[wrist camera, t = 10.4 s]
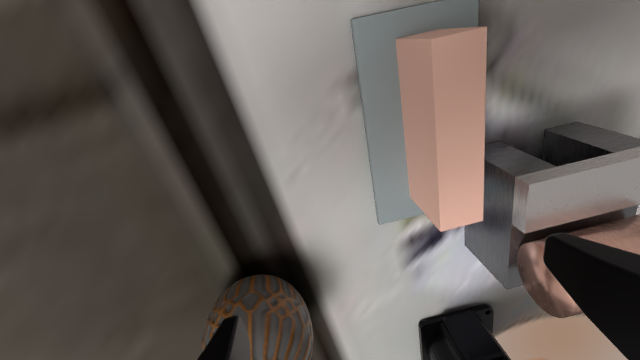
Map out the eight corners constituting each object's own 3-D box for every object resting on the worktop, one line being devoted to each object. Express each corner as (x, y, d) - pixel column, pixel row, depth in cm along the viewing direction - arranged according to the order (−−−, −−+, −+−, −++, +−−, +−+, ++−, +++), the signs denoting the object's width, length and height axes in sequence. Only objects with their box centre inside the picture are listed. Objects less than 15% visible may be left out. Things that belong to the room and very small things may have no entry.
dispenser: (562, 220, 25) (698, 305, 17) (464, 244, 25) (558, 343, 17) (577, 121, 22) (756, 170, 14) (465, 148, 21) (582, 214, 13)
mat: (471, 198, 23) (474, 201, 23) (377, 221, 23) (379, 224, 22) (474, -7, 17) (478, -8, 17) (350, 19, 17) (352, 19, 17)
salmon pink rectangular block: (445, 188, 22) (483, 220, 18) (409, 196, 22) (440, 231, 18) (439, 29, 18) (487, 26, 14) (395, 39, 17) (431, 39, 14)
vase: (324, 299, 25) (349, 421, 17) (252, 343, 26) (245, 479, 18) (269, 241, 22) (269, 355, 14) (191, 292, 23) (150, 428, 15)
